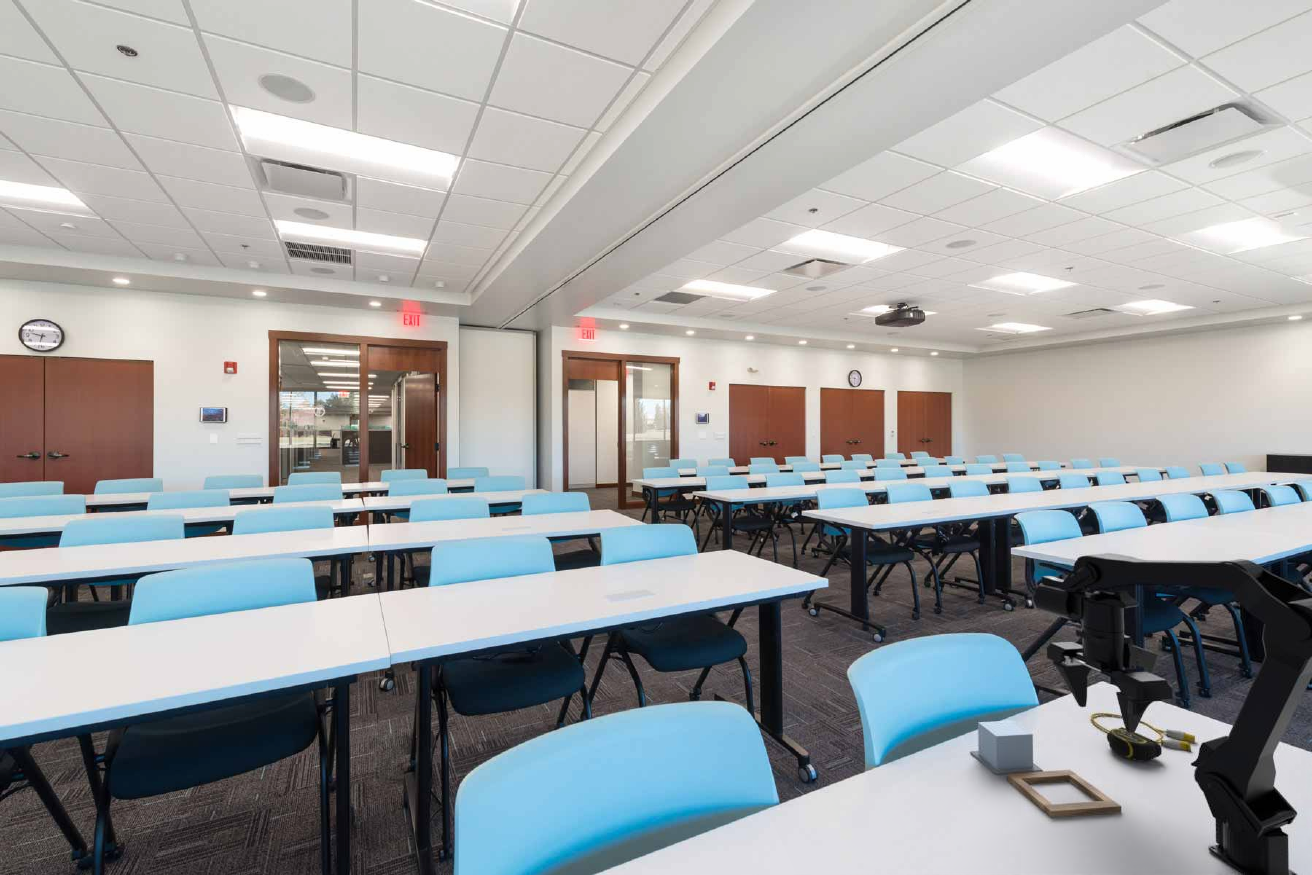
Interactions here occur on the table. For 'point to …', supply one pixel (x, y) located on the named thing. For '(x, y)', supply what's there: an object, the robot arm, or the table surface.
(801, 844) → the table surface
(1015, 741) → the part block
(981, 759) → the pad
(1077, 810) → the frame
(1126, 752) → the tape measure
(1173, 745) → the extension cord
